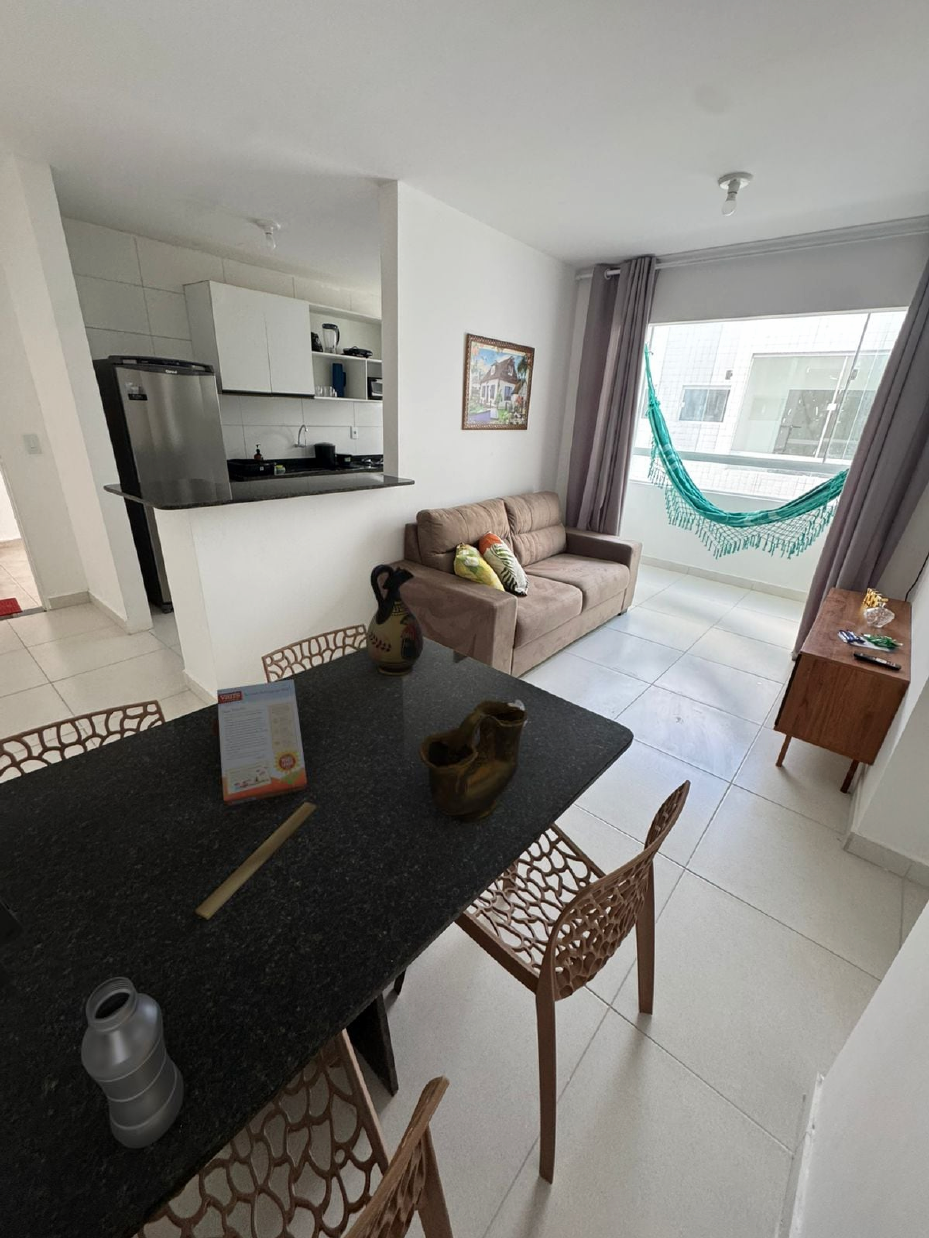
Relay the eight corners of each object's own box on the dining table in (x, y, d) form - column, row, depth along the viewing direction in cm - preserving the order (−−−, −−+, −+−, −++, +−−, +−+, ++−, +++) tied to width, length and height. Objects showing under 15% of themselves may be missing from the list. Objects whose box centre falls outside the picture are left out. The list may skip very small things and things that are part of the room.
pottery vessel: (448, 859, 85) (453, 763, 77) (402, 824, 91) (403, 732, 83) (531, 782, 102) (542, 698, 94) (488, 757, 109) (495, 677, 101)
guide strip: (195, 913, 74) (195, 910, 73) (306, 803, 94) (305, 801, 94) (208, 919, 73) (207, 917, 73) (316, 808, 93) (316, 805, 93)
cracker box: (306, 790, 98) (294, 688, 106) (307, 784, 93) (294, 677, 101) (226, 807, 93) (220, 698, 101) (222, 801, 88) (216, 687, 96)
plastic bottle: (178, 1061, 58) (143, 945, 50) (195, 1122, 53) (159, 1006, 45) (111, 1106, 54) (61, 988, 46) (122, 1177, 49) (68, 1060, 41)
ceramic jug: (402, 649, 152) (402, 552, 140) (433, 670, 141) (437, 567, 129) (351, 665, 142) (346, 561, 130) (380, 689, 131) (379, 579, 119)
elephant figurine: (519, 738, 115) (521, 716, 113) (488, 726, 119) (490, 704, 117) (531, 724, 121) (534, 703, 118) (502, 713, 124) (504, 692, 122)
